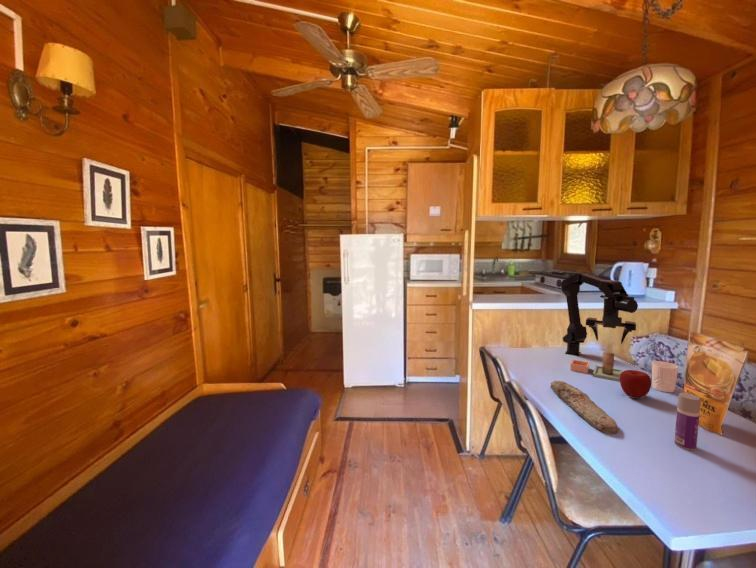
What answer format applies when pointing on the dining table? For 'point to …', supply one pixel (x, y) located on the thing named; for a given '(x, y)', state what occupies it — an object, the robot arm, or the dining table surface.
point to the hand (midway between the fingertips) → (609, 342)
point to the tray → (615, 375)
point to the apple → (635, 383)
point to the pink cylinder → (664, 376)
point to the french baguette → (584, 407)
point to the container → (687, 421)
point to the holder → (580, 366)
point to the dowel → (608, 363)
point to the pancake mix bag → (712, 376)
